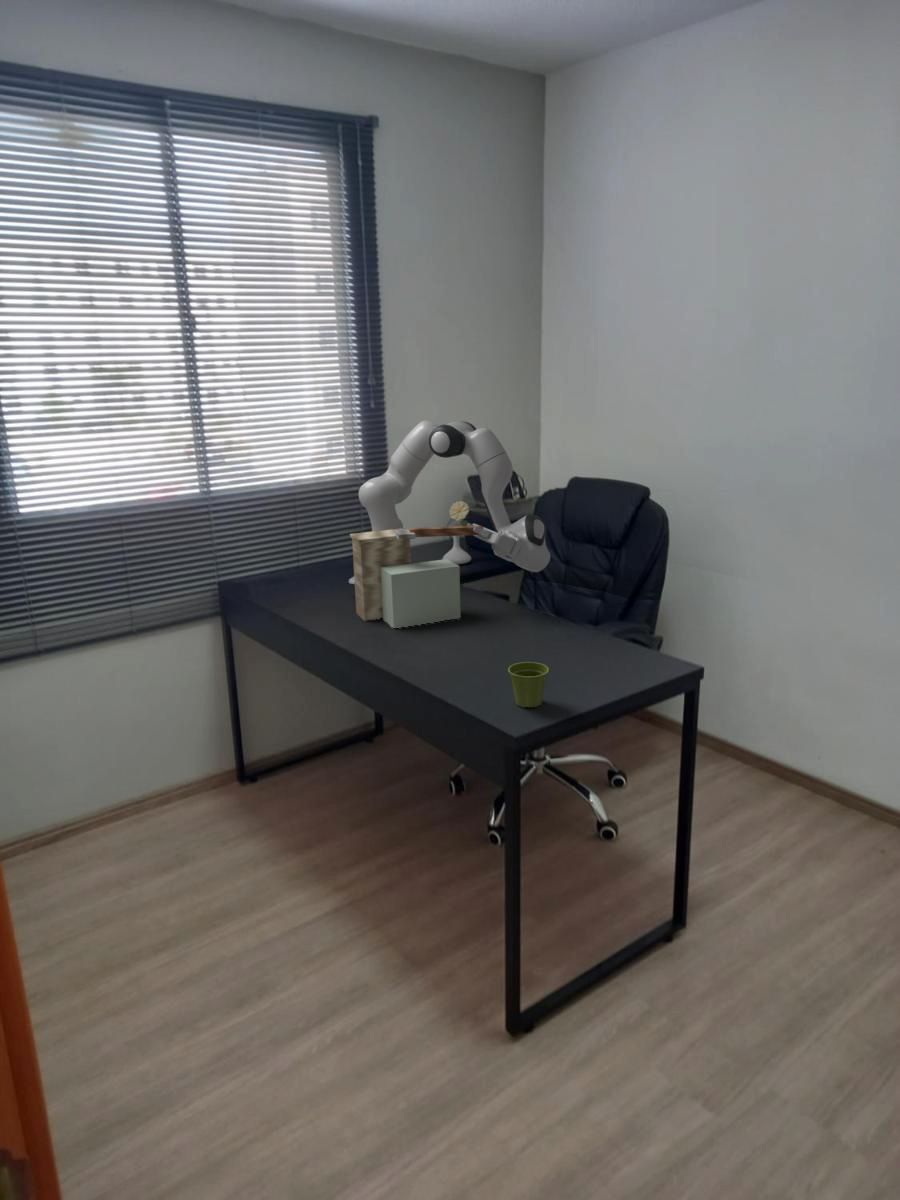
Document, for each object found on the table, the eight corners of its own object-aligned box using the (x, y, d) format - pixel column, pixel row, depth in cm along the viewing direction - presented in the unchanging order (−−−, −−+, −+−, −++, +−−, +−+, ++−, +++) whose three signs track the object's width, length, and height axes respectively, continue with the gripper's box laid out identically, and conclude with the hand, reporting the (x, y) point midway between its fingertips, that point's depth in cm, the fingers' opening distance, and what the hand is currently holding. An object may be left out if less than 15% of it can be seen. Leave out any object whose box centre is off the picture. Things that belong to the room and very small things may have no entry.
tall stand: (404, 606, 274) (401, 528, 267) (415, 614, 265) (411, 534, 258) (354, 613, 268) (349, 533, 260) (363, 621, 259) (359, 540, 252)
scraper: (478, 531, 263) (478, 524, 263) (485, 536, 257) (485, 528, 256) (394, 534, 257) (394, 527, 256) (398, 539, 250) (398, 531, 249)
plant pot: (532, 715, 190) (532, 679, 187) (500, 704, 196) (500, 670, 193) (556, 702, 197) (556, 667, 194) (524, 692, 203) (524, 658, 200)
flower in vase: (436, 563, 329) (434, 500, 322) (457, 558, 336) (456, 496, 329) (459, 568, 320) (457, 504, 312) (480, 563, 327) (479, 500, 320)
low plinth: (448, 610, 268) (446, 559, 264) (460, 618, 259) (459, 565, 255) (383, 620, 260) (380, 567, 255) (393, 629, 251) (391, 574, 247)
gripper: (495, 529, 274) (461, 512, 267) (525, 541, 256) (489, 523, 249) (487, 547, 274) (453, 530, 268) (516, 559, 256) (480, 542, 250)
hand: (471, 527), depth 258 cm, fingers closed on scraper, 3 cm apart
